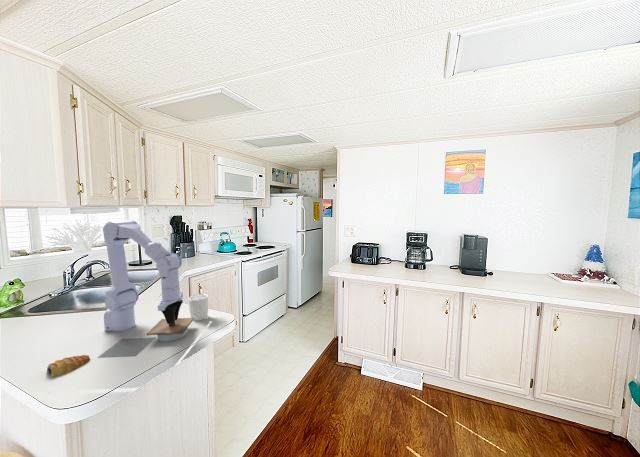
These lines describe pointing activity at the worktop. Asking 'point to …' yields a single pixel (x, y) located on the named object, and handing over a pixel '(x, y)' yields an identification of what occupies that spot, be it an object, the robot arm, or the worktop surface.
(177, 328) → the lid
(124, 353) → the mat
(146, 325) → the worktop surface
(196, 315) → the white cup
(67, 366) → the pastry
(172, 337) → the bowl
